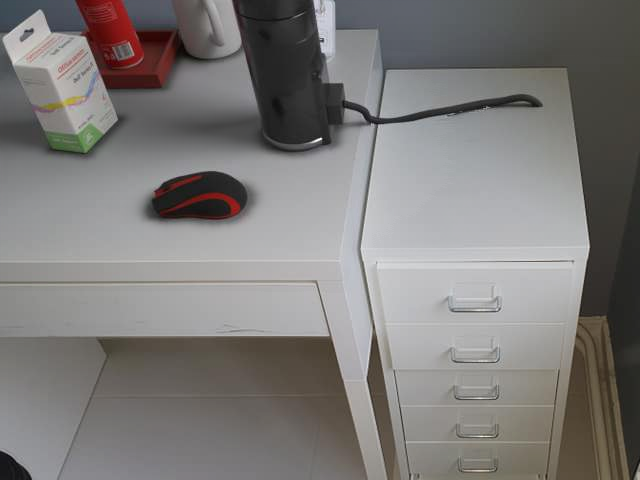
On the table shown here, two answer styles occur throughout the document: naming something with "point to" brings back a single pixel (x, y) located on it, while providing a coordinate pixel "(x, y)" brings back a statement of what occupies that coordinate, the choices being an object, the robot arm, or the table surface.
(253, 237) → the table surface
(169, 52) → the drinks tray
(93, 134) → the ink box
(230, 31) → the mug
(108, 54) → the beverage can
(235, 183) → the computer mouse
